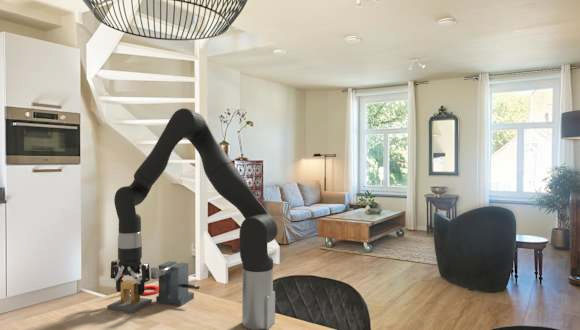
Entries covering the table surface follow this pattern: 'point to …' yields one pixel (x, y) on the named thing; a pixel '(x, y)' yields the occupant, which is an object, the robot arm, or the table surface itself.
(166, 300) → the vise
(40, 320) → the table surface
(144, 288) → the tow hook
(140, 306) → the rubber mat
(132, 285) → the ochre slotted block
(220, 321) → the table surface
